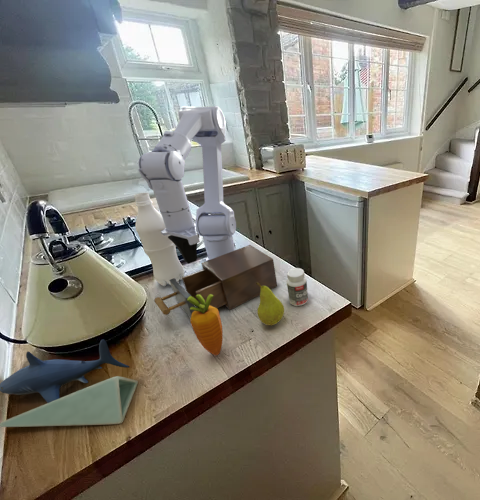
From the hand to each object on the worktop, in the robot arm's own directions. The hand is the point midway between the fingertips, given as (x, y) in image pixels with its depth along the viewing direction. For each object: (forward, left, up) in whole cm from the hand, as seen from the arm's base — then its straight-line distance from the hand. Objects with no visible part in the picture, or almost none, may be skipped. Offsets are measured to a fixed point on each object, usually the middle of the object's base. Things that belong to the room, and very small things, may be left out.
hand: (191, 261), depth 72 cm
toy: (+10, -26, -11) cm, 30 cm away
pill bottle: (+20, +16, -11) cm, 28 cm away
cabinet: (+5, +9, -10) cm, 15 cm away
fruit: (+22, +7, -11) cm, 25 cm away
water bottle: (-13, -3, -11) cm, 17 cm away
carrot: (+22, -6, -11) cm, 25 cm away
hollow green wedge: (+12, -36, -6) cm, 39 cm away
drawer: (+5, -2, -10) cm, 11 cm away
